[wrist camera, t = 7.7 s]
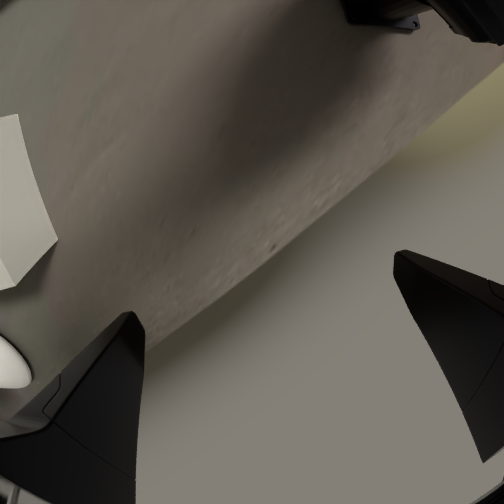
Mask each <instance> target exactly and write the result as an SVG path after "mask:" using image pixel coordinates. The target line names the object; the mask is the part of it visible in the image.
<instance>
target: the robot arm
mask: <svg viewBox="0 0 504 504" xmlns="http://www.w3.org/2000/svg"><path fill="white" fill-rule="evenodd" d="M340 1H341V2H342V5H343V9H344V12H345V16H346V19H347V21H348V23H349V24H351V25H359V26H378V27H391V28H400V29H409V30H418V29H419V28H420V23H419V19H418V16H417V14H419V13H422V12H425V11H428V10H432V9H434V10H435V11H436V12H437V13H438V14H439V15H440V16H441V17H442V18H443V19H444V21H445V22H446V23H447V24H448V25H449V28H450V29H451V30H452V31H453V32H454V33H455V34H459V35H463V36H465V37H469V39H470V40H471V41H472V42H476V43H493V44H497V45H498V46H501V45H503V44H504V0H340ZM352 17H354V18H355V19H356V21H353V20H352ZM413 23H414V24H415V26H414V25H413ZM393 275H394V279H395V281H396V283H397V285H398V287H399V289H400V291H401V294H402V296H403V298H404V300H405V302H406V304H407V307H408V309H409V311H410V313H411V315H412V316H413V318H414V320H415V322H416V323H417V325H418V327H419V329H420V330H421V332H422V334H423V335H424V337H425V339H426V341H427V343H428V344H429V346H430V348H431V350H432V352H433V354H434V356H435V357H436V359H437V361H438V363H439V365H440V366H441V369H442V371H443V373H444V375H445V377H446V379H447V381H448V383H449V385H450V387H451V389H452V391H453V393H454V395H455V397H456V399H457V402H458V403H459V406H460V408H461V410H462V411H463V412H462V413H463V415H464V418H465V420H466V422H467V424H468V427H469V429H470V432H471V434H472V437H473V439H474V442H475V444H476V446H477V449H478V452H479V455H480V458H481V460H482V462H483V463H484V462H486V461H487V460H489V459H490V458H492V457H493V456H494V455H496V454H497V453H499V452H500V451H501V450H502V449H504V285H501V284H499V283H496V282H494V281H491V280H487V279H486V278H483V277H481V276H478V275H475V274H473V273H470V272H467V271H465V270H462V269H460V268H457V267H454V266H451V265H449V264H446V263H443V262H440V261H438V260H435V259H432V258H429V257H426V256H423V255H420V254H418V253H415V252H412V251H409V250H401V251H398V252H396V253H395V255H394V268H393ZM144 356H145V330H144V328H143V326H142V324H141V322H140V321H139V319H138V317H137V315H136V314H135V313H134V312H133V311H129V312H124V313H122V314H121V315H120V316H118V317H117V318H116V319H115V320H114V321H113V322H112V323H111V324H110V325H109V326H108V327H107V328H106V329H105V330H104V331H102V332H101V333H100V334H99V335H98V336H97V337H96V338H95V339H94V340H93V341H92V342H91V343H90V344H89V345H88V346H87V347H86V348H85V349H84V350H83V351H82V352H81V353H80V354H79V355H78V356H76V357H75V358H74V359H73V360H72V361H71V362H70V363H69V364H68V365H67V366H66V367H65V368H64V369H63V370H62V371H61V374H60V373H59V374H58V375H57V376H56V377H55V378H54V379H53V380H52V381H51V382H50V383H49V384H48V385H47V386H46V387H45V388H44V389H43V390H42V391H41V392H40V393H39V394H37V395H36V396H35V397H34V398H33V399H32V400H31V401H30V402H29V403H27V404H26V405H25V406H24V407H23V408H22V409H21V410H20V411H19V412H18V413H16V414H15V415H14V416H13V417H11V418H9V419H7V420H4V421H0V504H135V502H136V498H135V496H136V492H135V491H136V481H135V479H136V457H137V456H136V455H137V438H138V425H139V414H140V403H141V394H142V385H143V377H144ZM470 504H504V478H503V480H502V482H501V483H500V484H498V485H497V486H496V487H494V488H493V489H491V490H490V491H489V492H487V493H486V494H484V495H483V496H481V497H480V498H478V499H477V500H475V501H474V502H472V503H470Z"/></svg>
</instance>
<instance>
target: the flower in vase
mask: <svg viewBox="0 0 504 504" xmlns="http://www.w3.org/2000/svg"><path fill="white" fill-rule="evenodd" d="M31 380H32V378H31V372H30V369H29V367H28V365H27V363H26V361H25V360H24V359H23V357H22V356H21V355H20V354H19V352H18V351H17V350H16V349H15V348H14V347H13V346H12V345H11V344H10V343H9V342H7V341H6V340H5V339H4V338H3V337H1V336H0V388H23V387H26V386H27V385H29V384H30V383H31Z"/></svg>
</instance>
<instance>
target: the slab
mask: <svg viewBox="0 0 504 504" xmlns="http://www.w3.org/2000/svg"><path fill="white" fill-rule="evenodd" d="M57 241H58V238H57V236H56V233H55V231H54V229H53V226H52V224H51V221H50V219H49V216H48V214H47V211H46V209H45V206H44V203H43V201H42V198H41V195H40V192H39V190H38V187H37V184H36V181H35V178H34V175H33V171H32V168H31V165H30V161H29V158H28V155H27V151H26V147H25V144H24V140H23V136H22V132H21V127H20V123H19V118H18V114H15V115H9V116H5V117H0V290H3V289H7V288H10V287H14V286H16V285H17V284H18V283H19V281H20V280H21V279H22V278H23V277H24V276H25V275H26V273H27V272H28V271H29V270H30V269H31V268H32V267H33V266H34V265H35V263H36V262H37V261H38V260H39V259H40V258H41V257H42V256H43V255H44V254H45V253H46V252H47V251H48V250H49V249H50V248H51V247H52V246H53V245H54V244H55V243H56V242H57Z"/></svg>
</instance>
